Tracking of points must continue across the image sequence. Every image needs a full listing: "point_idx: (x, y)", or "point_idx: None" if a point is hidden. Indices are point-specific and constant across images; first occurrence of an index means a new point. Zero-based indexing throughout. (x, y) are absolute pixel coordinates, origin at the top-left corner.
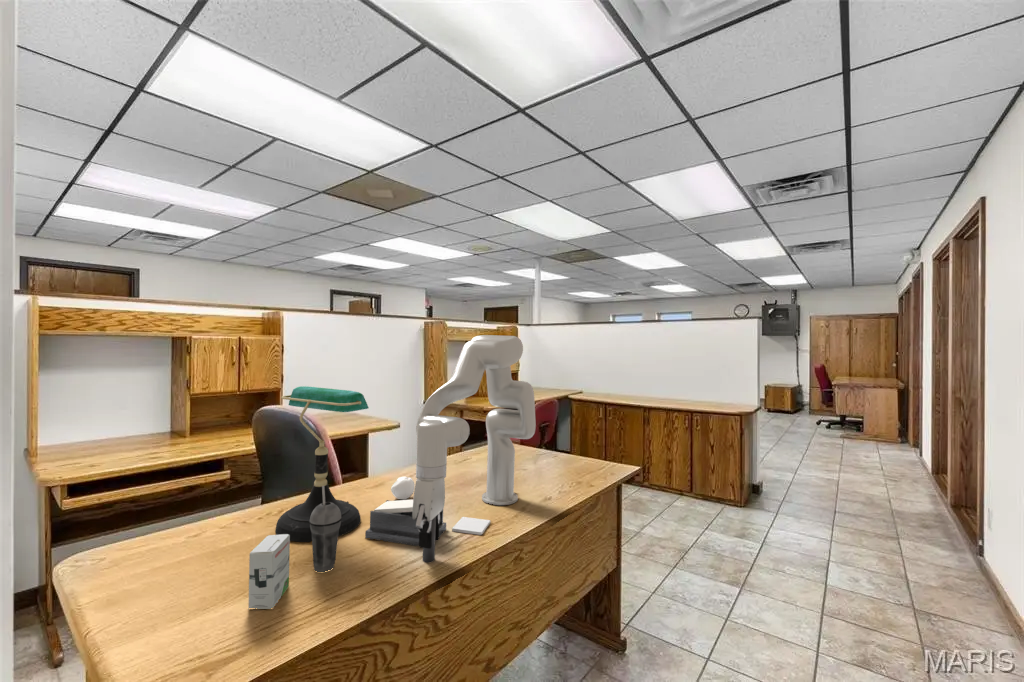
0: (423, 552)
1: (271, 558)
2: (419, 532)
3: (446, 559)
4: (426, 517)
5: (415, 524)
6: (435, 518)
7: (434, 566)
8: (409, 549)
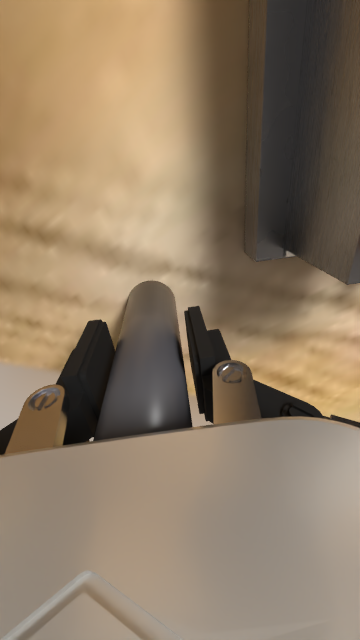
0: (126, 308)
1: None
2: (65, 371)
3: None
4: None
5: (336, 139)
6: None
7: None
8: (200, 168)
